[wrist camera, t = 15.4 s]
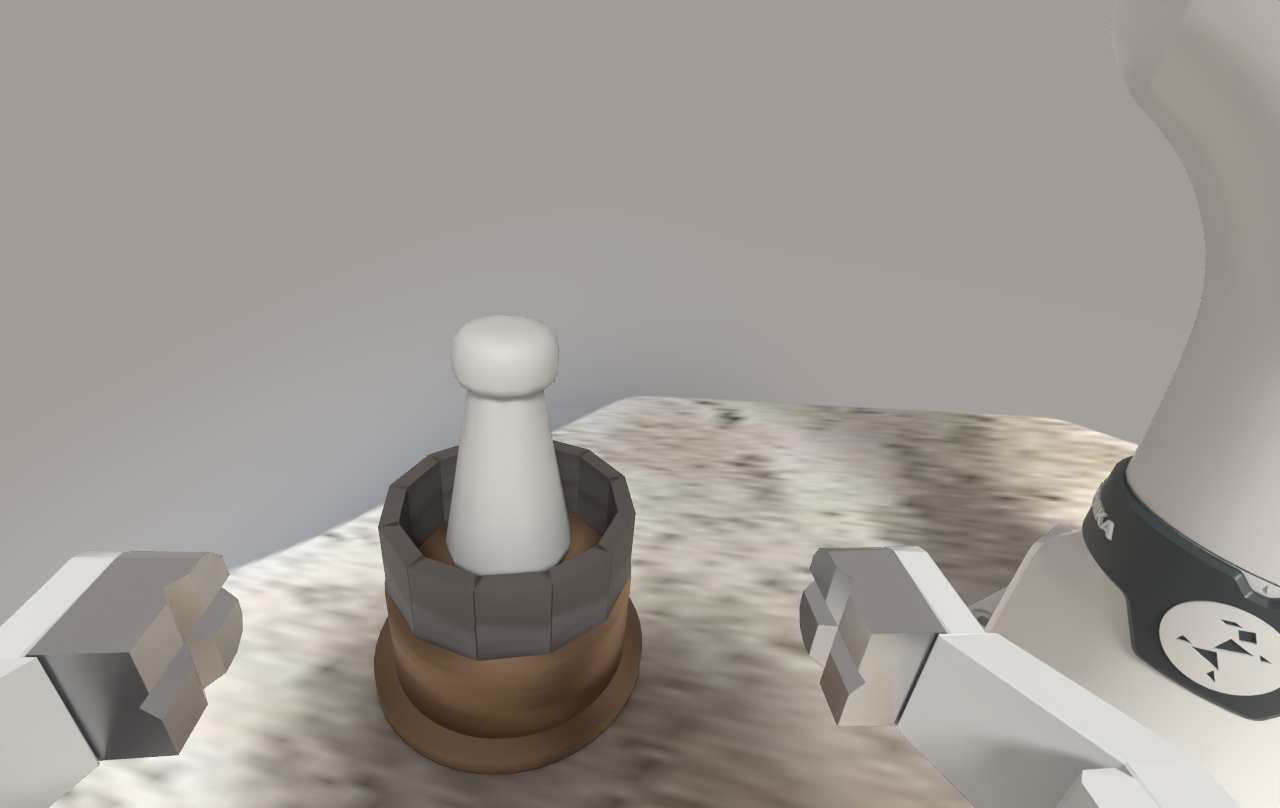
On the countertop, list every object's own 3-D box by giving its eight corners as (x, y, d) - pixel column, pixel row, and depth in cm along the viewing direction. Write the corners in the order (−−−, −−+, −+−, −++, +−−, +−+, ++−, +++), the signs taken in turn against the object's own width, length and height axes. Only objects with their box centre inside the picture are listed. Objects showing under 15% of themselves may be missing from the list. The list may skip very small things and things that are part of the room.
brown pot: (549, 530, 42) (552, 403, 38) (692, 667, 33) (719, 523, 29) (337, 625, 34) (307, 476, 29) (452, 843, 25) (435, 679, 20)
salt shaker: (592, 566, 31) (608, 326, 25) (512, 638, 27) (508, 368, 21) (508, 519, 34) (505, 292, 28) (423, 577, 29) (397, 323, 23)
